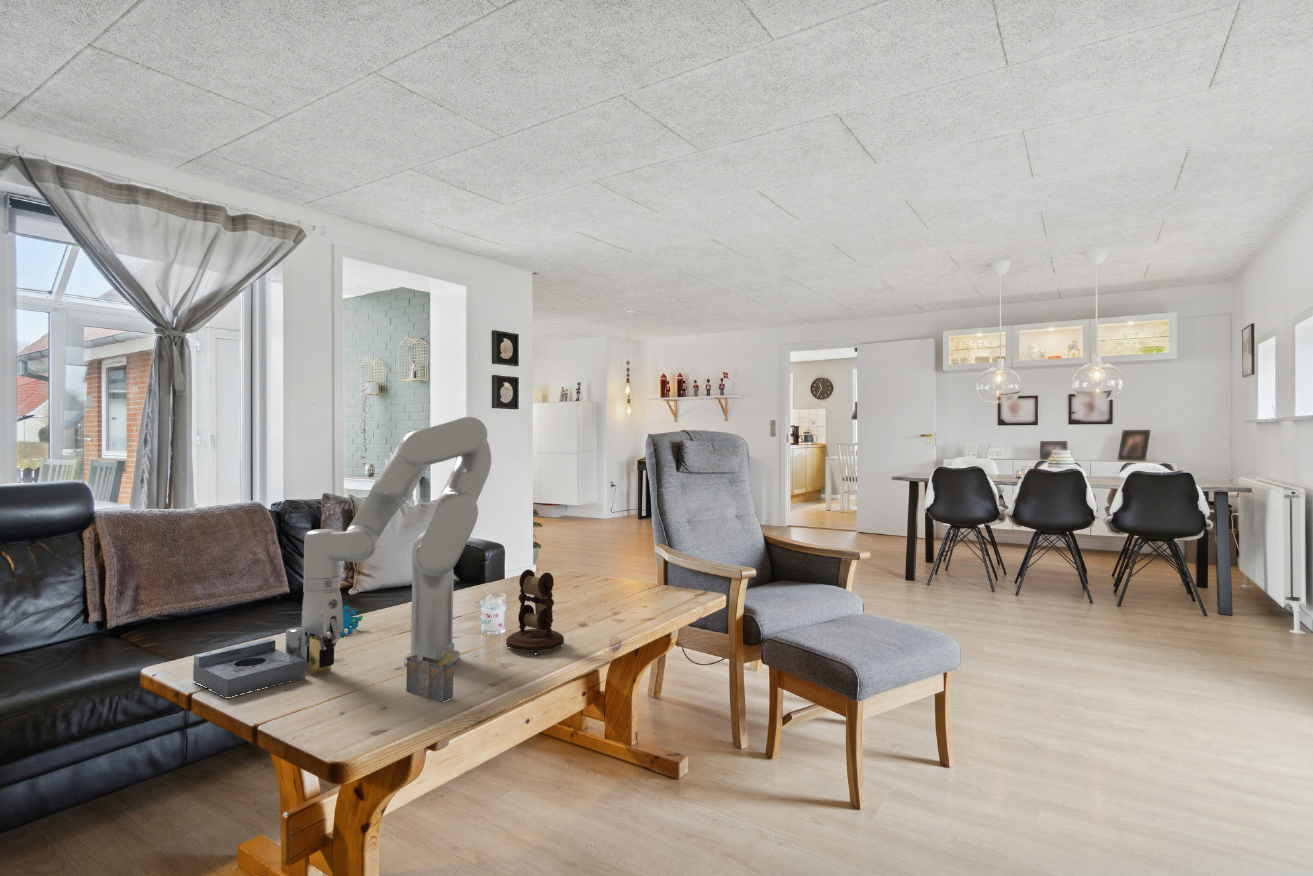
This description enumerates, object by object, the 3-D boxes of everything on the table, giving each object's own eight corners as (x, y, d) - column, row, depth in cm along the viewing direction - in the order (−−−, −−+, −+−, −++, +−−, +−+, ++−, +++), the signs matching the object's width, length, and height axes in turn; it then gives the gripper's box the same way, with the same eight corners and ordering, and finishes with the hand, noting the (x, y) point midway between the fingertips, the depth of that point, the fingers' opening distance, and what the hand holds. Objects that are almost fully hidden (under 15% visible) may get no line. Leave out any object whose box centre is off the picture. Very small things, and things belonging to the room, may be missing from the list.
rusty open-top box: (454, 700, 143) (455, 653, 143) (443, 704, 140) (444, 656, 140) (417, 689, 149) (418, 644, 149) (406, 693, 146) (407, 647, 146)
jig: (304, 678, 153) (305, 651, 153) (227, 699, 140) (227, 669, 140) (269, 663, 162) (270, 638, 162) (193, 682, 149) (193, 655, 149)
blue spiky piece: (323, 634, 182) (320, 602, 188) (316, 646, 184) (313, 614, 190) (366, 633, 189) (361, 602, 195) (358, 645, 191) (354, 614, 198)
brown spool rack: (575, 646, 180) (576, 570, 180) (535, 660, 168) (537, 578, 168) (534, 636, 188) (535, 564, 188) (493, 649, 176) (495, 571, 176)
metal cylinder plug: (311, 663, 163) (311, 629, 163) (291, 667, 159) (292, 633, 160) (300, 659, 166) (301, 626, 166) (281, 664, 162) (282, 630, 162)
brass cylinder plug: (335, 672, 157) (335, 637, 157) (315, 677, 153) (316, 641, 153) (324, 668, 160) (325, 633, 160) (304, 673, 156) (305, 638, 156)
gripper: (358, 586, 155) (356, 667, 155) (318, 576, 165) (316, 652, 165) (326, 591, 149) (324, 676, 149) (286, 581, 159) (284, 660, 158)
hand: (320, 663), depth 157 cm, fingers closed on brass cylinder plug, 4 cm apart
